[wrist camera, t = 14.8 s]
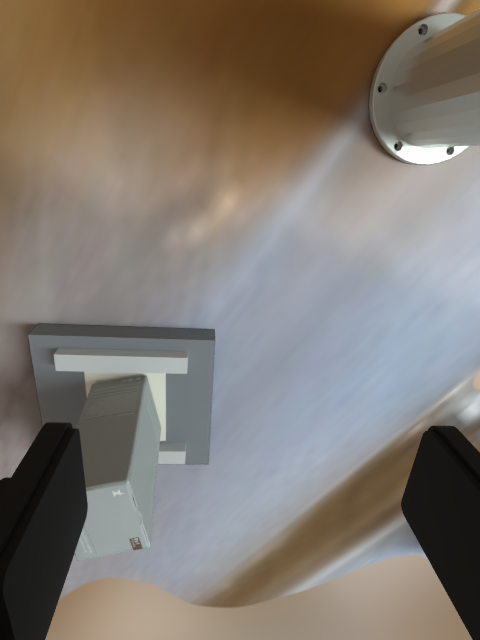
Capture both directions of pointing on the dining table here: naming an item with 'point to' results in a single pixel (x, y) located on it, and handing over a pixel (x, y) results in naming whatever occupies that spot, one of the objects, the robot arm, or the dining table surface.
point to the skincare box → (118, 466)
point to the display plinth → (125, 362)
